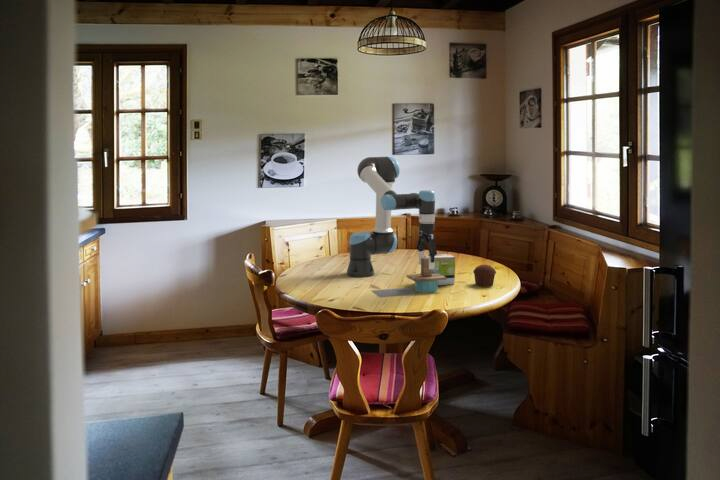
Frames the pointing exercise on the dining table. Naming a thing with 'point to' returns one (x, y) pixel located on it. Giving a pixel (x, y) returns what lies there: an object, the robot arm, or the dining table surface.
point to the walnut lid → (426, 273)
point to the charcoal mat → (394, 292)
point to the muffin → (484, 275)
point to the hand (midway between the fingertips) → (426, 266)
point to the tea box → (444, 268)
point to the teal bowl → (426, 286)
